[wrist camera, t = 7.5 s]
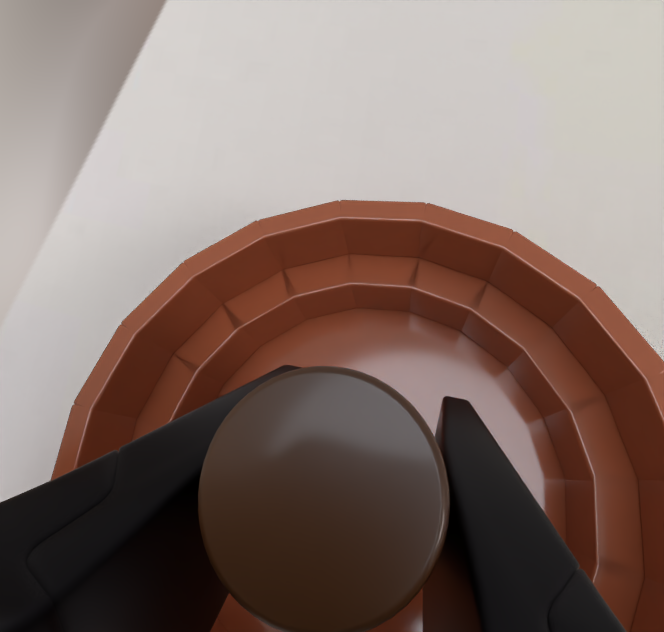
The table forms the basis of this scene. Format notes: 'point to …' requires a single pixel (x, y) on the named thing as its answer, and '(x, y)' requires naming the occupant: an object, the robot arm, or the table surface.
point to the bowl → (415, 366)
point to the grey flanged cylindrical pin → (323, 501)
